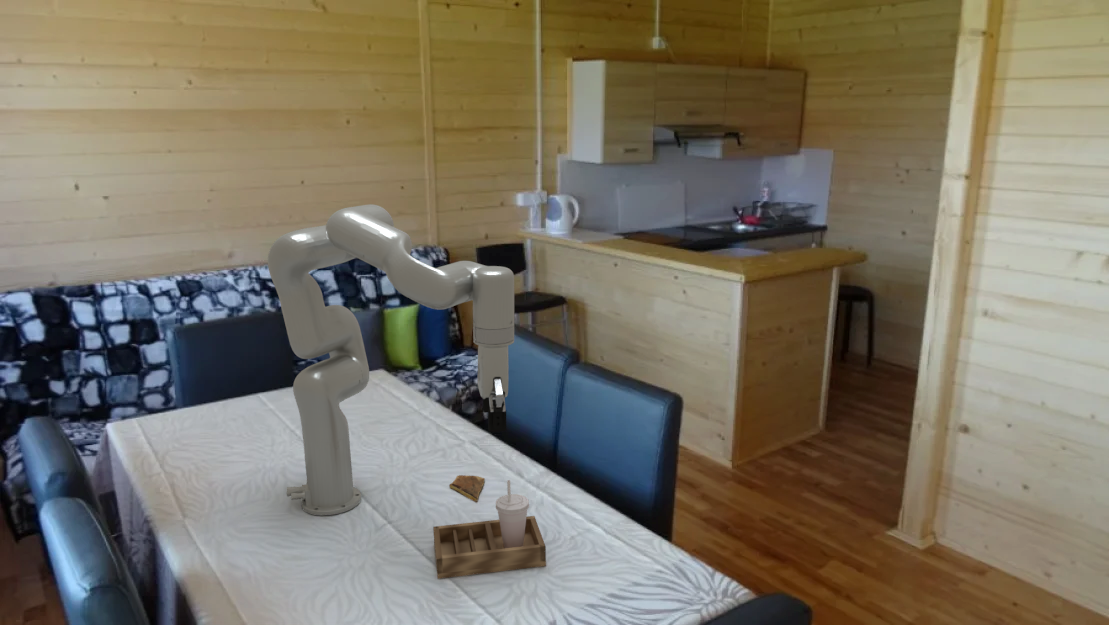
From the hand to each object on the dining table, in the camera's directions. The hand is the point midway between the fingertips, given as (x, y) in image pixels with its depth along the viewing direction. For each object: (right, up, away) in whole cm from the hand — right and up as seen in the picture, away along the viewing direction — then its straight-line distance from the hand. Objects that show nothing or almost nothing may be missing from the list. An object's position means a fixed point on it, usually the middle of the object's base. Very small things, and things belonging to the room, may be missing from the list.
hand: (494, 421), depth 150 cm
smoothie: (+4, -25, +2) cm, 25 cm away
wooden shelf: (-1, -26, +2) cm, 26 cm away
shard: (-7, -20, +29) cm, 36 cm away
